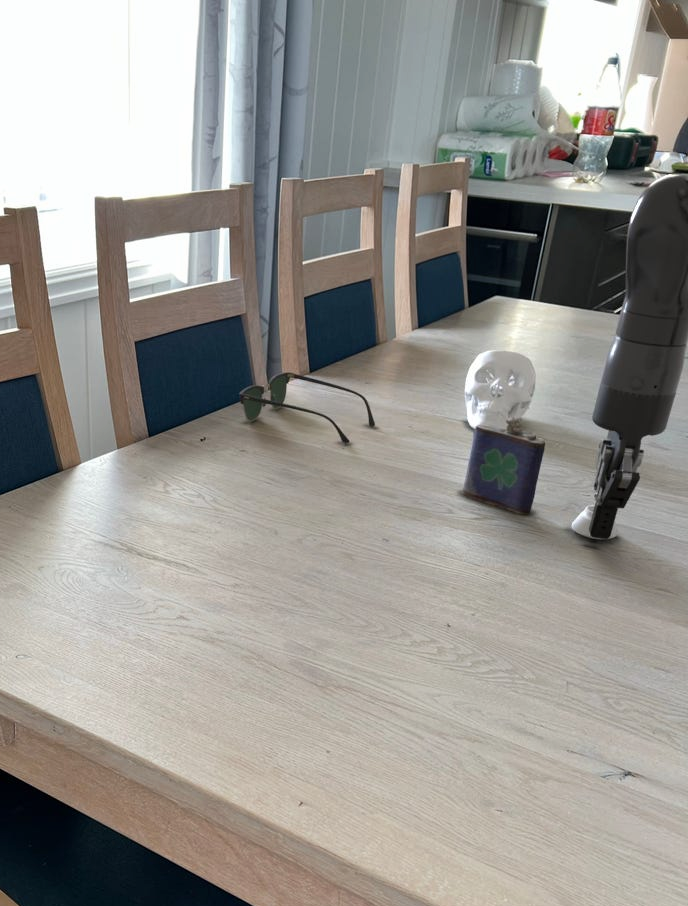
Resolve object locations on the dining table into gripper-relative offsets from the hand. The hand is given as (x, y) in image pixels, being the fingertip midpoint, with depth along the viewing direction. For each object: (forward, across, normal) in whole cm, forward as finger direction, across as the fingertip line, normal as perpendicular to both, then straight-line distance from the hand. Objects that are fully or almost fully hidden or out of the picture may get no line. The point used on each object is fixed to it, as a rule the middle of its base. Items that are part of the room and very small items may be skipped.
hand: (598, 535), depth 111 cm
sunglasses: (0, +33, +38) cm, 50 cm away
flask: (+1, +10, +11) cm, 15 cm away
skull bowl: (0, +47, +10) cm, 48 cm away
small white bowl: (+1, +3, 0) cm, 4 cm away
